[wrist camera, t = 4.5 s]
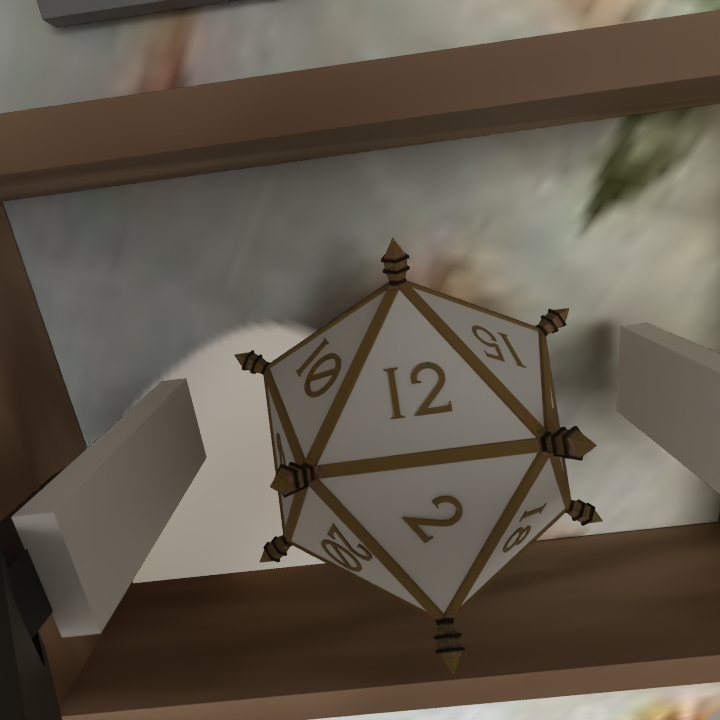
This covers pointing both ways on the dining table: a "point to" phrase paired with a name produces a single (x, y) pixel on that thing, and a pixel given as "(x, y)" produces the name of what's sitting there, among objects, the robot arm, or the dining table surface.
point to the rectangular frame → (322, 581)
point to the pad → (108, 9)
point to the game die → (419, 445)
